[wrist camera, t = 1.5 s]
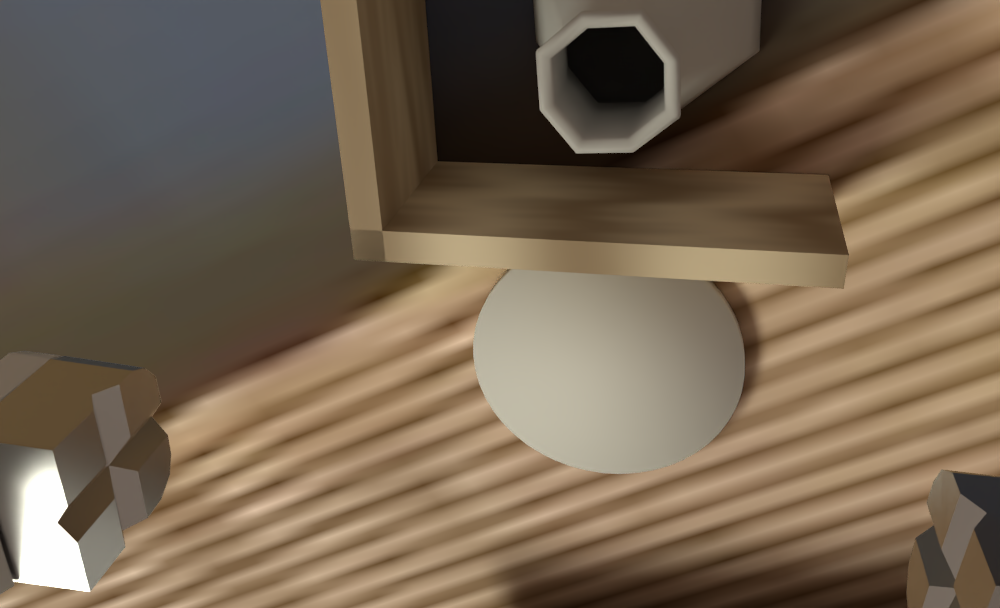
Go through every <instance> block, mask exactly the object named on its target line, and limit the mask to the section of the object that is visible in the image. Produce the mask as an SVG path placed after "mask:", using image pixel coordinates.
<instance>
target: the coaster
mask: <svg viewBox="0 0 1000 608" xmlns="http://www.w3.org/2000/svg"><path fill="white" fill-rule="evenodd" d="M473 356H474V364H475V370H476V374H477V377H478V381H479V384H480V386H481V389H482V391H483V393H484V396H485V398H486V399H487V401H488V403H489V404H490V406H491V408H492V409H493V411H494V412H495V414H496V415H497V416H498V417H499V419H500V420H501V421H502V422H503V424H504V425H505V426H506V427H507V428H508V429H509V430H510V431H511V432H512V433H513V434H514V435H516V436H517V437H518V438H519V439H521V440H522V441H523V442H524V443H526V444H527V445H529V446H530V447H532V448H533V449H535V450H536V451H538V452H540V453H541V454H543V455H545V456H547V457H549V458H551V459H553V460H555V461H558V462H561V463H563V464H566V465H569V466H572V467H576V468H579V469H583V470H587V471H593V472H600V473H612V474H627V473H640V472H646V471H652V470H656V469H659V468H663V467H667V466H670V465H672V464H674V463H677V462H679V461H682V460H684V459H686V458H687V457H689V456H691V455H693V454H695V453H696V452H698V451H699V450H700V449H702V448H703V447H704V446H706V445H707V444H708V443H710V442H711V441H712V440H713V439H714V438H715V437H716V436H717V435H718V434H719V433H720V432H721V430H722V429H723V428H724V426H725V425H726V424H727V422H728V421H729V420H730V418H731V416H732V414H733V412H734V411H735V409H736V407H737V404H738V401H739V399H740V396H741V393H742V388H743V383H744V377H745V351H744V344H743V337H742V334H741V330H740V327H739V324H738V321H737V319H736V317H735V314H734V312H733V310H732V308H731V306H730V305H729V303H728V302H727V300H726V299H725V297H724V295H723V294H722V292H721V291H720V290H719V289H718V288H717V287H716V286H715V284H714V283H713V282H712V281H706V280H689V279H672V278H655V277H638V276H621V275H604V274H587V273H570V272H553V271H536V270H519V269H509V270H508V271H507V272H506V273H505V274H504V275H503V276H502V277H501V278H500V279H499V280H498V282H497V283H496V285H495V286H494V287H493V289H492V290H491V292H490V294H489V296H488V298H487V300H486V302H485V304H484V306H483V308H482V310H481V312H480V315H479V318H478V321H477V324H476V328H475V334H474V341H473Z"/></svg>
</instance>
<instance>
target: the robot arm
mask: <svg viewBox="0 0 1000 608" xmlns="http://www.w3.org/2000/svg"><path fill="white" fill-rule="evenodd" d="M160 403H161V398H160V394H159V389H158V385H157V381H156V377H155V376H154V375H153V374H152V373H150V372H149V371H148V370H146V369H145V368H141V367H134V366H128V365H121V364H114V363H107V362H101V361H94V360H87V359H81V358H74V357H67V356H63V357H61V356H58V355H52V354H44V353H36V352H29V351H21V352H14V353H9V354H8V355H6V356H5V357H4V358H2V359H1V360H0V594H1V593H3V592H5V591H6V590H8V589H10V588H11V587H13V586H14V582H13V581H15V582H22V583H29V584H37V585H44V586H51V587H59V588H66V589H73V590H80V591H88V592H90V591H91V590H92V589H93V587H94V586H95V585H96V584H97V582H98V581H99V580H100V578H101V577H102V576H103V575H104V573H105V572H106V571H107V569H108V568H109V567H110V566H111V564H112V563H113V562H114V560H115V559H116V558H117V557H118V555H119V554H120V553H121V552H122V550H123V549H124V548H125V541H124V534H123V530H125V529H127V528H129V527H130V526H132V525H134V524H136V523H138V522H140V521H142V520H144V519H146V518H148V516H149V515H150V514H151V512H152V511H153V510H154V508H155V507H156V506H157V504H158V503H159V501H160V500H161V498H162V495H163V492H164V490H165V487H166V484H167V481H168V478H169V475H170V462H171V451H170V445H169V440H168V435H167V434H166V433H165V431H164V430H163V429H162V428H161V427H160V426H159V425H158V423H157V422H156V421H155V420H154V419H153V418H152V415H153V414H154V412H155V411H156V409H157V408H158V406H159V405H160ZM927 505H928V508H929V512H930V515H931V518H932V521H933V524H934V526H932V527H931V528H929V529H928V530H927V531H925V532H924V533H922V534H921V535H919V536H918V537H916V539H915V542H914V546H913V550H912V554H911V557H910V561H909V565H908V578H907V590H906V594H907V604H908V608H1000V476H993V475H984V474H975V473H967V472H958V471H950V470H941V471H940V473H939V474H938V476H937V477H936V479H935V480H934V482H933V485H932V488H931V491H930V494H929V497H928V500H927Z"/></svg>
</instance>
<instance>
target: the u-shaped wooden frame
mask: <svg viewBox="0 0 1000 608" xmlns="http://www.w3.org/2000/svg"><path fill="white" fill-rule="evenodd" d="M320 1H321V9H322V16H323V24H324V32H325V39H326V47H327V55H328V62H329V70H330V78H331V85H332V93H333V101H334V109H335V116H336V124H337V132H338V139H339V147H340V155H341V162H342V170H343V178H344V185H345V193H346V201H347V208H348V216H349V224H350V231H351V239H352V247H353V254H354V260H367V261H383V262H400V263H417V264H434V265H451V266H468V267H485V268H502V269H519V270H536V271H553V272H570V273H587V274H604V275H621V276H638V277H655V278H672V279H689V280H706V281H723V282H740V283H756V284H773V285H790V286H807V287H824V288H841V289H844V283H845V277H846V270H847V264H848V257H849V254H848V250H847V246H846V242H845V238H844V234H843V230H842V226H841V223H840V219H839V215H838V211H837V207H836V203H835V199H834V195H833V191H832V187H831V183H830V179H829V175H818V174H790V173H761V172H732V171H703V170H675V169H646V168H617V167H589V166H560V165H531V164H503V163H474V162H445V161H438V159H437V146H436V134H435V121H434V108H433V95H432V82H431V70H430V57H429V44H428V31H427V18H426V6H425V0H320Z"/></svg>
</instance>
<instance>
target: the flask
mask: <svg viewBox="0 0 1000 608" xmlns="http://www.w3.org/2000/svg"><path fill="white" fill-rule="evenodd" d="M761 2H762V0H533V7H534V21H535V35H536V42H537V44H538V45H539V46H540V48H538V49H537V51H536V65H537V78H538V92H539V106H540V111H541V112H542V113H543V115H544V116H545V117H546V118H547V119H548V121H549V122H550V123H551V124H552V125H553V126H554V128H555V129H556V130H557V131H558V132H559V134H560V135H561V136H562V137H563V138H564V140H565V141H566V142H567V143H568V144H569V145H570V147H571V148H572V149H573V150H574V151H575V153H633V152H635V151H636V150H637V149H639V148H640V147H641V146H643V145H644V144H645V143H647V142H648V141H649V140H651V139H652V138H653V137H655V136H656V135H657V134H659V133H660V132H662V131H663V130H664V129H666V128H667V127H668V126H670V125H671V124H672V123H674V122H675V121H676V120H678V119H679V118H680V116H681V109H682V108H684V107H685V106H687V105H688V104H689V103H691V102H692V101H693V100H695V99H696V98H697V97H699V96H700V95H701V94H703V93H704V92H705V91H707V90H708V89H709V88H711V87H712V86H713V85H715V84H716V83H717V82H719V81H720V80H721V79H723V78H724V77H725V76H727V75H728V74H729V73H731V72H732V71H734V70H735V69H736V68H738V67H739V66H740V65H742V64H743V63H744V62H746V61H747V60H748V59H750V58H751V57H752V56H754V55H755V54H756V53H758V52H759V51H760V27H761Z"/></svg>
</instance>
